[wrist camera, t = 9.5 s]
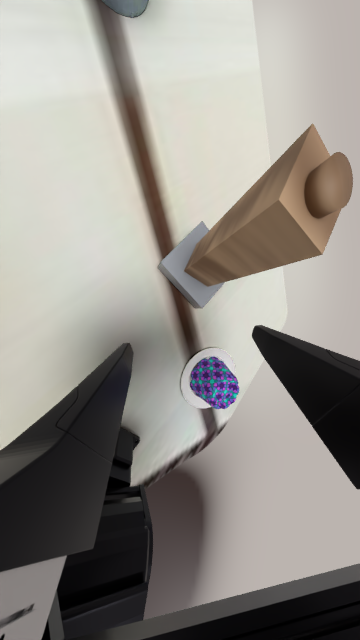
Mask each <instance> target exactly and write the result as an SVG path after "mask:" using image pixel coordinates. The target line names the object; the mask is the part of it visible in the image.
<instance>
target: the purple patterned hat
mask: <svg viewBox="0 0 360 640" xmlns="http://www.w3.org/2000/svg"><path fill="white" fill-rule="evenodd" d="M209 356H215V357H210V358H209V359H203V358H205V357H209ZM216 357H218V358H220V359H221V360H222V361H223V362H222V361H219V360H218V358H216ZM201 359H202V360H201ZM200 360H201V361H200ZM199 361H200V362H199ZM198 362H199V363H198ZM197 363H198V366H197V367H196V368H194V369H193V367H194V366H195V365H196V364H197ZM224 363H225V364H224ZM192 369H193V370H192ZM191 371H192V372H191ZM190 374H191V377H192V380H191V382H190V385H189V377H190ZM235 375H236V369H235V363H234V361H233V359H232V357H231V356H230V354H229V353H228V352H226V351H225V350H223V349H220V348H208V349H205V350H202V351H201V352H199V353H197V354H196V355H195V356H194V357H193V358H192V359H191V360H190V361H189V362H188V364H187V365H186V367H185V369H184V371H183V374H182V378H181V391H182V394H183V397H184V398H185V400H186V401H187V402H188V403H189V404H190V405H192V406H193V407H196V408H209V407H213V408H216V409H220V408H222V409H225V408H227V407H229V405H230V404H232V403H234V402H235V400H236V396H237V394H238V393H239V386H238V381H237V378H236V377H235ZM190 387H191V389H192V390H193V391H195V392H196V395H197V396H196V395H195V394H194V393H193V392H192V391H191V389H190ZM198 396H199V397H198Z"/></svg>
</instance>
